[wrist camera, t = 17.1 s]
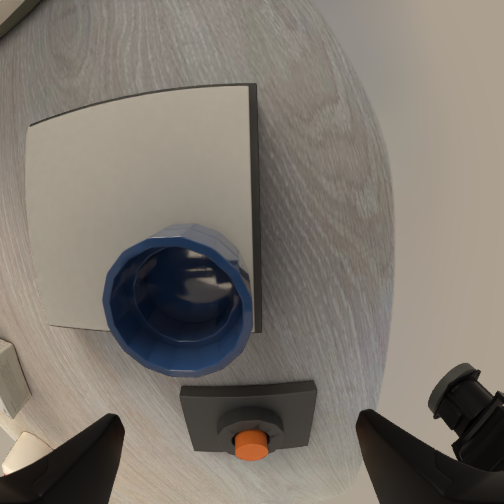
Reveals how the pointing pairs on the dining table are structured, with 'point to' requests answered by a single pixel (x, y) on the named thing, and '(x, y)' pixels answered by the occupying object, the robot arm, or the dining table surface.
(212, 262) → the small dish
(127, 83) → the dining table surface
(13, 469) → the pill bottle
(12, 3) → the bowl
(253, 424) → the pad
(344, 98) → the dining table surface
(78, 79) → the dining table surface
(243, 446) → the button
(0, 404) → the small box
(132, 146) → the scale
